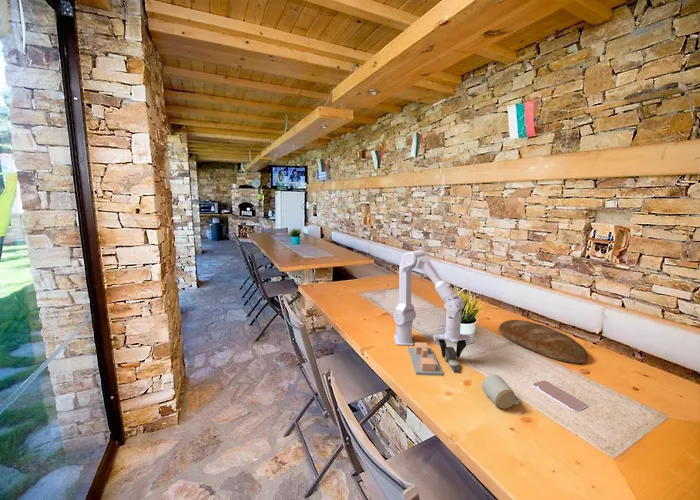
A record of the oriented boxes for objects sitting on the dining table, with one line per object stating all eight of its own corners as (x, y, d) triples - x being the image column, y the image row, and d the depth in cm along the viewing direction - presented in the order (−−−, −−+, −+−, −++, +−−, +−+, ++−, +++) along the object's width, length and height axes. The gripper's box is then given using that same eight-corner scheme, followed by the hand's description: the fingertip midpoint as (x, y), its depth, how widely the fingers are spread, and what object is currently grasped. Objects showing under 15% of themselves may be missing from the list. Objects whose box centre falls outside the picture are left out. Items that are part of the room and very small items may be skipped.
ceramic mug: (495, 411, 94) (498, 389, 92) (480, 394, 102) (482, 374, 100) (525, 409, 95) (528, 387, 94) (508, 392, 103) (511, 372, 102)
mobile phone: (575, 411, 93) (530, 383, 107) (575, 413, 94) (530, 386, 107) (589, 404, 96) (544, 379, 110) (589, 407, 96) (544, 381, 110)
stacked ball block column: (439, 350, 131) (440, 339, 130) (448, 350, 131) (449, 340, 130) (451, 372, 114) (452, 360, 113) (461, 373, 114) (463, 361, 113)
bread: (514, 325, 159) (516, 310, 157) (597, 357, 127) (600, 339, 126) (488, 333, 148) (489, 317, 147) (571, 371, 116) (574, 351, 115)
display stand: (408, 349, 131) (408, 338, 130) (430, 350, 131) (431, 338, 130) (416, 374, 113) (416, 361, 112) (442, 375, 112) (443, 362, 111)
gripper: (437, 329, 116) (435, 361, 118) (474, 330, 115) (471, 362, 118) (433, 322, 123) (431, 352, 125) (468, 323, 122) (465, 353, 125)
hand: (450, 356), depth 122 cm, fingers open, 5 cm apart
